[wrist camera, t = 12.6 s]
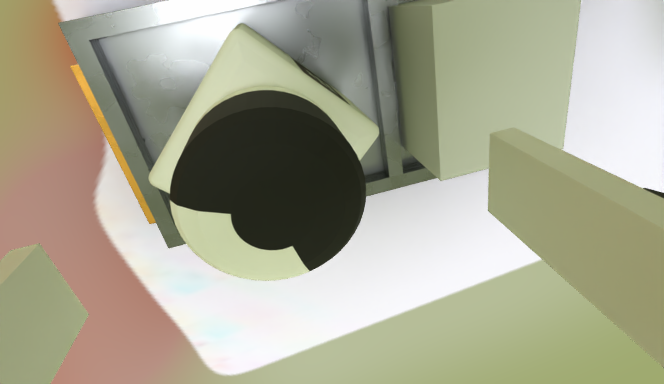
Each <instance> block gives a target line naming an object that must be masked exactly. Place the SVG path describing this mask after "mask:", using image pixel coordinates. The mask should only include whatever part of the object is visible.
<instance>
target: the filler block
mask: <svg viewBox="0 0 664 384" xmlns="http://www.w3.org/2000/svg"><path fill="white" fill-rule="evenodd" d="M580 4H581V0H417V1H413V2H408V3H403V4H399V5H394V6H390V7H388V8H389V18H390V28H391V38H392V48H393V57H394V67H395V77H396V87H397V97H398V107H399V117H400V127H401V137H402V147H404V148H405V149H406V150H407V151H408V152H409V153H410V154H411V155H412V156H414V157H415V158H416V159H417V160H418V161H419V162H420V163H421V164H422V165H424V166H425V167H426V168H427V169H428V170H429V171H430V172H431V173H432V174H434V175H435V176H436V177H437V178H438V179H439V180H440V181H443V180H447V179H450V178H454V177H458V176H462V175H466V174H469V173H473V172H477V171H481V170H485V169H488V168H489V140H490V133H492V132H496V131H500V130H504V129H508V128H513V127H514V128H516V129H518V130H521V131H523V132H525V133H527V134H529V135H531V136H533V137H535V138H537V139H539V140H542V141H544V142H546V143H548V144H550V145H552V146H554V147H556V148H558V149H563V146H564V137H565V129H566V121H567V112H568V104H569V96H570V87H571V79H572V71H573V63H574V54H575V46H576V38H577V29H578V21H579V13H580Z"/></svg>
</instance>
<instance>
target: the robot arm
mask: <svg viewBox="0 0 664 384" xmlns="http://www.w3.org/2000/svg"><path fill="white" fill-rule="evenodd" d="M488 211H489V212H490V213H491V214H492V215H493V216H494V217H496V218H497V219H498V220H499V221H500V222H501V223H502V224H503V225H504V226H506V227H507V228H508V229H509V230H510V231H511V232H512V233H513V234H515V235H516V236H517V237H518V238H519V239H520V240H521V241H522V242H523V243H525V244H526V245H527V246H528V247H529V248H530V249H531V250H532V251H533V252H535V253H536V254H537V255H538V256H539V257H540V258H541V259H542V260H544V261H545V262H546V263H547V264H548V265H549V266H550V267H552V269H554V270H555V271H556V272H557V273H558V274H559V275H560V276H561V277H563V278H564V279H565V280H566V281H567V282H568V283H569V284H570V285H571V286H573V287H574V288H575V289H576V290H577V291H578V292H579V293H580V294H582V295H583V296H584V297H585V298H586V299H587V300H588V301H589V302H591V303H592V304H593V305H594V306H595V307H596V308H597V309H598V310H600V311H601V312H602V313H603V314H604V315H605V316H606V317H607V318H608V319H610V320H611V321H612V322H613V323H614V324H615V325H616V326H617V327H618V328H620V329H621V330H622V331H623V332H624V333H625V334H626V335H627V336H629V337H630V338H631V339H632V340H633V341H634V342H635V343H636V344H637V345H639V346H640V347H641V348H642V349H643V350H644V351H645V352H646V353H647V354H649V355H650V356H651V357H652V358H653V359H654V360H655V361H656V362H658V363H659V364H660V365H661V366H662V367H663V368H664V193H662V192H658V191H654V190H651V189H647V188H641V187H638V186H636V185H634V184H632V183H630V182H628V181H626V180H624V179H622V178H620V177H617V176H615V175H613V174H611V173H609V172H607V171H605V170H603V169H601V168H598V167H596V166H594V165H592V164H590V163H588V162H586V161H584V160H582V159H580V158H577V157H575V156H573V155H571V154H569V153H567V152H565V151H563V150H561V149H558V148H556V147H554V146H552V145H550V144H548V143H546V142H544V141H542V140H539V139H537V138H535V137H533V136H531V135H529V134H527V133H525V132H523V131H521V130H518V129H516V128H514V127H513V128H508V129H504V130H500V131H496V132H492V133H490V140H489V187H488ZM88 315H89V314H88V312H87V311H86V309H85V308H84V307H83V305H82V304H81V302H80V301H79V299H78V298H77V297H76V295H75V294H74V292H73V291H72V289H71V288H70V287H69V285H68V284H67V282H66V281H65V279H64V278H63V276H62V275H61V274H60V272H59V271H58V269H57V268H56V266H55V265H54V264H53V262H52V261H51V259H50V258H49V256H48V255H47V254H46V252H45V251H44V249H43V248H42V246H41V245H40V244H35V245H31V246H27V247H22V248H19V249H14V250H11V251H10V252H9V253H8V254H7V255H6V256H4V257H3V259H2V260H0V384H51V382H52V380H53V378H54V377H55V375H56V373H57V371H58V369H59V368H60V366H61V364H62V362H63V360H64V359H65V357H66V355H67V353H68V351H69V350H70V348H71V346H72V344H73V342H74V341H75V339H76V337H77V335H78V333H79V332H80V330H81V328H82V326H83V324H84V323H85V321H86V319H87V317H88Z"/></svg>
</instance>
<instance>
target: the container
mask: <svg viewBox="0 0 664 384" xmlns="http://www.w3.org/2000/svg"><path fill="white" fill-rule="evenodd" d="M378 135H379V128H378V126H377V125H376V124H375V123H374V122H373V121H372V120H371V119H370V118H368V117H367V116H366V115H365V114H364V113H363V112H362V111H361V110H360V109H359V108H358V107H356V106H355V105H354V104H353V103H352V102H351V101H350V100H349V99H348V98H347V97H346V96H344V95H343V94H342V93H341V92H339V91H338V90H336V89H335V88H334V87H332V86H331V85H329V84H328V83H327V82H325V81H324V80H322V79H321V78H320V77H318V76H317V75H315V74H314V73H313V72H311V71H310V70H309V69H307V68H306V67H304V66H303V65H302V64H300V63H299V62H297V61H296V60H295V59H293V58H292V57H290V56H289V55H288V54H286V53H285V52H283V51H282V50H281V49H279V48H278V47H277V46H275V45H274V44H272V43H271V42H270V41H268V40H267V39H265V38H264V37H263V36H261V35H260V34H258V33H257V32H256V31H254V30H253V29H251V28H250V27H249V26H247V25H246V24H243V23H240V24H238V25H237V26H236V27H235V28H234V29H233V30H232V31H231V32H230V33H229V34H228V36H227V38H226V39H225V41H224V43H223V45H222V47H221V48H220V50H219V52H218V54H217V55H216V57H215V59H214V61H213V62H212V64H211V66H210V68H209V69H208V71H207V73H206V75H205V77H204V78H203V80H202V82H201V84H200V85H199V87H198V89H197V91H196V92H195V94H194V96H193V98H192V99H191V101H190V103H189V105H188V106H187V108H186V110H185V112H184V114H183V115H182V117H181V119H180V121H179V122H178V124H177V126H176V128H175V129H174V131H173V133H172V135H171V136H170V138H169V140H168V142H167V144H166V145H165V147H164V149H163V151H162V152H161V154H160V156H159V158H158V159H157V161H156V163H155V165H154V166H153V168H152V170H151V172H150V174H149V181H150V184H152V185H153V186H155V187H157V188H159V189H161V190H163V191H165V192H167V193H169V194H170V206H171V213H172V216H173V219H174V222H175V225H176V227H177V229H178V231H179V233H180V235H181V237H182V238H183V240H184V241H185V242H186V244H187V245H188V246H189V248H190V249H191V250H192V251H193V252H194V253H195V254H196V255H197V256H199V257H200V258H201V259H202V260H204V261H205V262H206V263H208V264H209V265H211V266H213V267H214V268H216V269H218V270H220V271H223V272H225V273H227V274H230V275H234V276H237V277H240V278H246V279H251V280H262V281H269V280H281V279H288V278H292V277H295V276H299V275H302V274H304V273H307V272H309V271H311V270H313V269H315V268H317V267H319V266H321V265H323V264H324V263H325V262H327V261H328V260H330V259H331V258H333V257H334V256H335V255H336V254H337V253H338V252H339V251H341V249H342V248H343V247H344V246H345V245H346V244H347V243H348V241H349V240H350V239H351V237H352V236H353V234H354V233H355V231H356V229H357V227H358V225H359V223H360V220H361V218H362V215H363V212H364V207H365V202H366V183H365V176H364V172H363V168H362V165H361V163H360V160H361V159H362V157H363V156H364V155H365V153H366V152H367V151H368V149H369V148H370V146H371V145H372V144H373V142H374V141H375V140H376V138H377V137H378Z"/></svg>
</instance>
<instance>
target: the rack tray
mask: <svg viewBox="0 0 664 384" xmlns="http://www.w3.org/2000/svg"><path fill="white" fill-rule="evenodd" d="M413 1H417V0H168V1H163V2H158V3H153V4H148V5H144V6H139V7H134V8H129V9H124V10H119V11H114V12H109V13H104V14H100V15H95V16H90V17H85V18H80V19H75V20H70V21H65V22H60V23H58V24H59V26H60V28H61V30H62V32H63V34H64V36H65V38H66V40H67V42H68V44H69V46H70V48H71V50H72V52H73V54H74V56H75V58H76V61H77V63H78V64H76V65H73V66H71V68H72V70H73V72H74V74H75V77H76V79H77V80H78V83H79V84H80V87H81V89H82V90H83V92H84V94H85V96H86V98H87V100H88V102H89V104H90V106H91V108H92V110H93V112H94V114H95V116H96V118H97V120H98V122H99V124H100V126H101V128H102V130H103V132H104V134H105V136H106V138H107V140H108V142H109V144H110V146H111V148H112V150H113V152H114V154H115V156H116V158H117V160H118V162H119V164H120V166H121V168H122V170H123V172H124V174H125V176H126V178H127V180H128V182H129V184H130V186H131V188H132V190H133V192H134V194H135V196H136V198H137V200H138V202H139V204H140V206H141V208H142V210H143V212H144V214H145V216H146V218H147V220H148V222H149V224H152V223H157V225H158V228H159V230H160V232H161V234H162V236H163V238H164V240H165V242H166V244H167V246H168V248H172V247H176V246H180V245H183V244H186V242H185V241H184V240H183V238H182V237H181V235H180V233H179V231H178V229H177V227H176V225H175V222H174V219H173V216H172V213H171V206H170V194H169V193H167V192H165V191H163V190H161V189H159V188H157V187H155V186H153V185H152V184H150V181H149V174H150V172H151V170H152V168H153V166H154V165H155V163H156V161H157V159H158V158H159V156H160V154H161V152H162V151H163V149H164V147H165V145H166V144H167V142H168V140H169V138H170V136H171V135H172V133H173V131H174V129H175V128H176V126H177V124H178V122H179V121H180V119H181V117H182V115H183V114H184V112H185V110H186V108H187V106H188V105H189V103H190V101H191V99H192V98H193V96H194V94H195V92H196V91H197V89H198V87H199V85H200V84H201V82H202V80H203V78H204V77H205V75H206V73H207V71H208V69H209V68H210V66H211V64H212V62H213V61H214V59H215V57H216V55H217V54H218V52H219V50H220V48H221V47H222V45H223V43H224V41H225V39H226V38H227V36H228V34H229V33H230V32H231V31H232V30H233V29H234V28H235V27H236V26H237V25H238V24H240V23H243V24H246V25H247V26H249V27H250V28H251V29H253V30H254V31H256V32H257V33H258V34H260V35H261V36H263V37H264V38H265V39H267V40H268V41H270V42H271V43H272V44H274V45H275V46H277V47H278V48H279V49H281V50H282V51H283V52H285V53H286V54H288V55H289V56H290V57H292V58H293V59H295V60H296V61H297V62H299V63H300V64H302V65H303V66H304V67H306V68H307V69H309V70H310V71H311V72H313V73H314V74H315V75H317V76H318V77H320V78H321V79H322V80H324V81H325V82H327V83H328V84H329V85H331V86H332V87H334V88H335V89H336V90H338V91H339V92H341V93H342V94H343V95H344V96H346V97H347V98H348V99H349V100H350V101H351V102H352V103H353V104H354V105H355V106H356V107H358V108H359V109H360V110H361V111H362V112H363V113H364V114H365V115H366V116H367V117H368V118H370V119H371V120H372V121H373V122H374V123H375V124H376V125H377V126H378V128H379V135H378V137H377V138H376V140H375V141H374V142H373V144H372V145H371V146H370V148H369V149H368V151H367V152H366V153H365V155H364V156H363V157H362V159H361V160H360V163H361V165H362V168H363V172H364V176H365V183H366V196H370V195H374V194H377V193H381V192H385V191H389V190H393V189H396V188H400V187H404V186H408V185H412V184H415V183H419V182H423V181H427V180H431V179H434V178H437V177H436V176H435V175H434V174H432V173H431V172H430V171H429V170H428V169H427V168H426V167H425V166H424V165H422V164H421V163H420V162H419V161H418V160H417V159H416V158H415V157H414V156H412V155H411V154H410V153H409V152H408V151H407V150H406V149H405V148H404V147H402V137H401V127H400V117H399V107H398V97H397V87H396V77H395V67H394V57H393V48H392V38H391V28H390V18H389V8H388V7H390V6H394V5H399V4H403V3H408V2H413Z"/></svg>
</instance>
